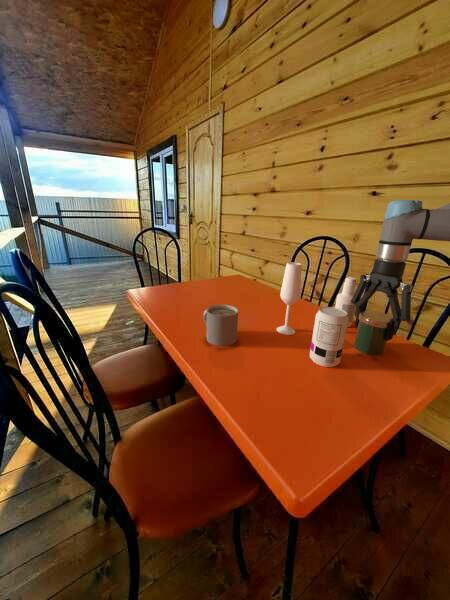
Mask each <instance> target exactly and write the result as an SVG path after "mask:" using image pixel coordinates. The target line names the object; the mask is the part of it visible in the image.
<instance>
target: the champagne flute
mask: <svg viewBox="0 0 450 600" xmlns="http://www.w3.org/2000/svg"><path fill="white" fill-rule="evenodd" d="M302 265H303V264H302V263H300V262H297V261H296V262H295V261H294V262H293V261H288V262H286V265H285V269H284V273H283V274H284V275H283V279H282V282H281V289H280V293H279V297H280V299H281V301H282V302H283V303H284V304H285V305H286V312H285V321H284V325H280V326H278V327H276V329H275V330H276V332H278V333H279V334H281V335H286V336H290V335H291V336H292V335H294V334H296V330H295V329H294V328H292V327H291V326H290V325H289V324H290V323H289V322H290V314H291V308H292V306H293V305H294V304H296V303H297V302H299V300H301V295H302V294H301V293H302V267H303V266H302Z"/></svg>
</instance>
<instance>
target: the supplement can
mask: <svg viewBox="0 0 450 600" xmlns="http://www.w3.org/2000/svg"><path fill="white" fill-rule="evenodd" d="M348 321H349V318H348V316H347V312H345V311H344V310H341V309H338V308H335V306H322V307H320V308H319V309H318V311H317V312H316V313H315V316H314V324H313V330H312V335H311V342H310V349H309V355H308V356H309V358H310V359H311V360H312V362H313V363H314V364H316V365H318V366H320V367H324V368H333V367H336V366H338V365H340V363H341V358H342V354H343V349H344V344H345V340H346V335H347V330H348V327H347V326H348Z"/></svg>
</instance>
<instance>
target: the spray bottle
mask: <svg viewBox="0 0 450 600" xmlns="http://www.w3.org/2000/svg"><path fill="white" fill-rule="evenodd" d="M356 283H357V278H356V277H352V276H348V277H346V278H345V280H344V283H343V286H342V291H341V292H339V293H338V294H337V295H336V299H335V306H334V308H338V309H341V310H344V311H345V312H347V316H348V318H349V321H348V326H347V328H350V327H352V325H353V321H354V317H355V310H356V305H355V304H352V303H351V300H352V298H353V296H354V293H355V291H356Z"/></svg>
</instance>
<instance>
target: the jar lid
mask: <svg viewBox="0 0 450 600" xmlns="http://www.w3.org/2000/svg"><path fill="white" fill-rule="evenodd" d="M358 319H359V320H360V321H361V322H362V323H364V324H366V325H369V326H373V327H378V328H388V325H389V321H390V319H393V316H392V315H389V314H388V313H385V312H381V311H376V310H365V311H361V312H360V314H359V318H358Z"/></svg>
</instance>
